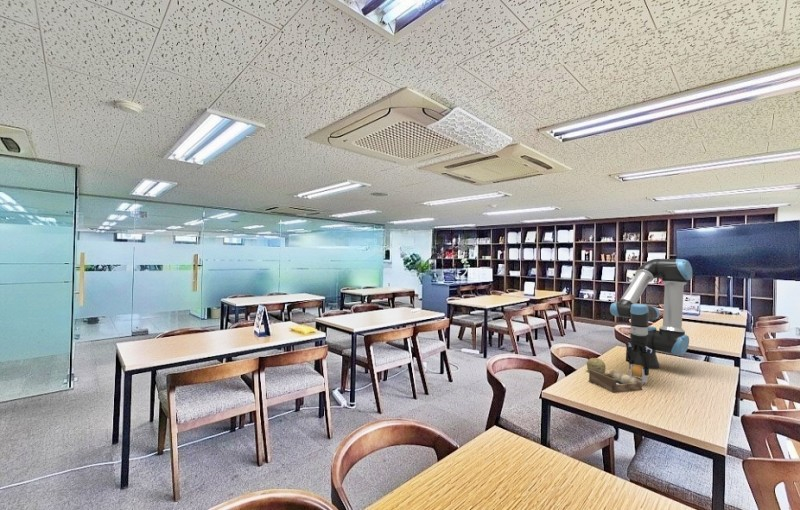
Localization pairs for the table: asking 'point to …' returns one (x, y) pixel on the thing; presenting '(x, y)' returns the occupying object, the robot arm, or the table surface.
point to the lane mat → (616, 384)
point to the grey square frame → (640, 379)
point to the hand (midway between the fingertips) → (638, 378)
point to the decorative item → (596, 365)
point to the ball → (637, 370)
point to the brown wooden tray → (610, 381)
